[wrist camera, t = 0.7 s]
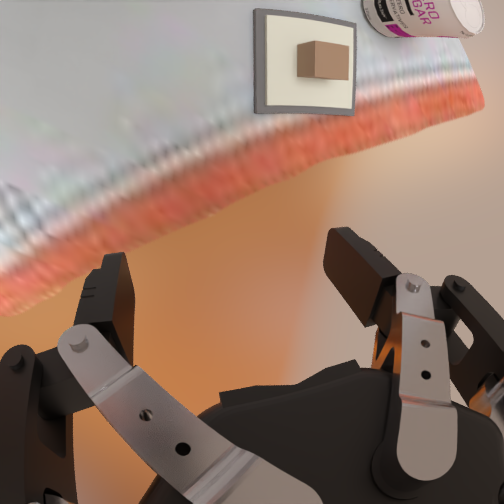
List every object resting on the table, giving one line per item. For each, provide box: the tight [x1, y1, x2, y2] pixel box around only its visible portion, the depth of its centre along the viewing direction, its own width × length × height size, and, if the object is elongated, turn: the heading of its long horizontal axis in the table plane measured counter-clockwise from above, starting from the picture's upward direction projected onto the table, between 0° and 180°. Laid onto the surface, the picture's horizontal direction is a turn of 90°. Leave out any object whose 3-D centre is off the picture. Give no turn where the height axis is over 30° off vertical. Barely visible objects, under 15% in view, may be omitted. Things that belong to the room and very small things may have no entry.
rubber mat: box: [253, 8, 357, 116], centre depth 30 cm, size 13×13×1 cm
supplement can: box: [363, 0, 485, 38], centre depth 21 cm, size 8×8×15 cm
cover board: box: [265, 15, 353, 109], centre depth 27 cm, size 11×11×5 cm
